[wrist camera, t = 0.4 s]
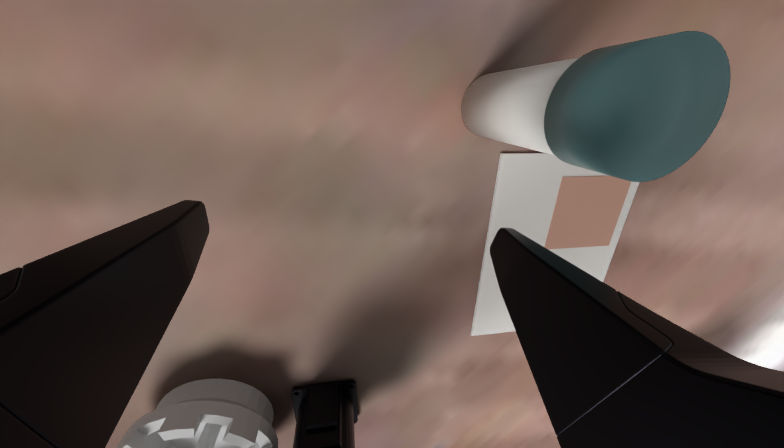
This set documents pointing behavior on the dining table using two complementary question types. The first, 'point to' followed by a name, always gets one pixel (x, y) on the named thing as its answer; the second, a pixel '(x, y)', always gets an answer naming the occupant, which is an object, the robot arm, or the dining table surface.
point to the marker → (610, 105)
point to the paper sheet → (551, 221)
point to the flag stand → (206, 418)
